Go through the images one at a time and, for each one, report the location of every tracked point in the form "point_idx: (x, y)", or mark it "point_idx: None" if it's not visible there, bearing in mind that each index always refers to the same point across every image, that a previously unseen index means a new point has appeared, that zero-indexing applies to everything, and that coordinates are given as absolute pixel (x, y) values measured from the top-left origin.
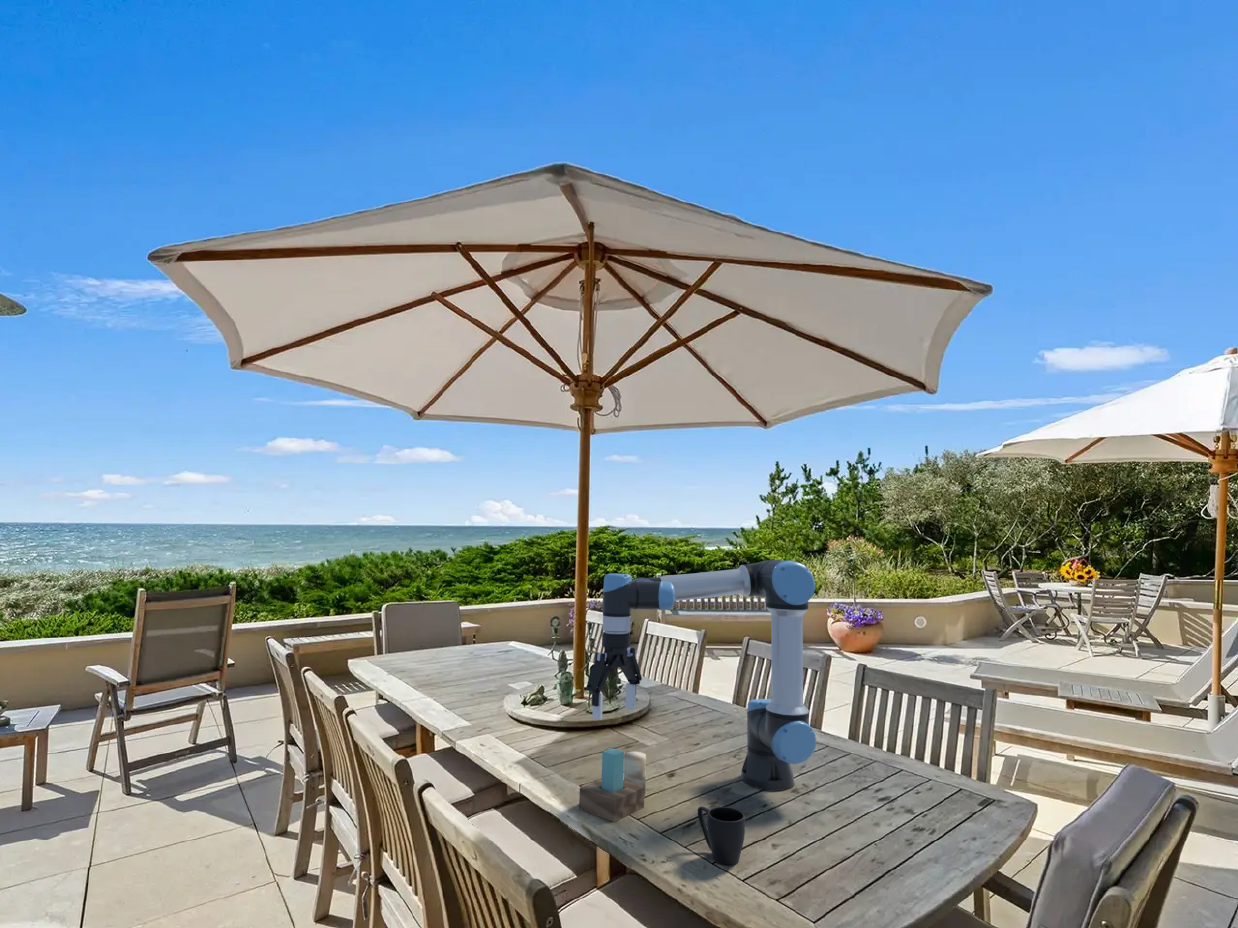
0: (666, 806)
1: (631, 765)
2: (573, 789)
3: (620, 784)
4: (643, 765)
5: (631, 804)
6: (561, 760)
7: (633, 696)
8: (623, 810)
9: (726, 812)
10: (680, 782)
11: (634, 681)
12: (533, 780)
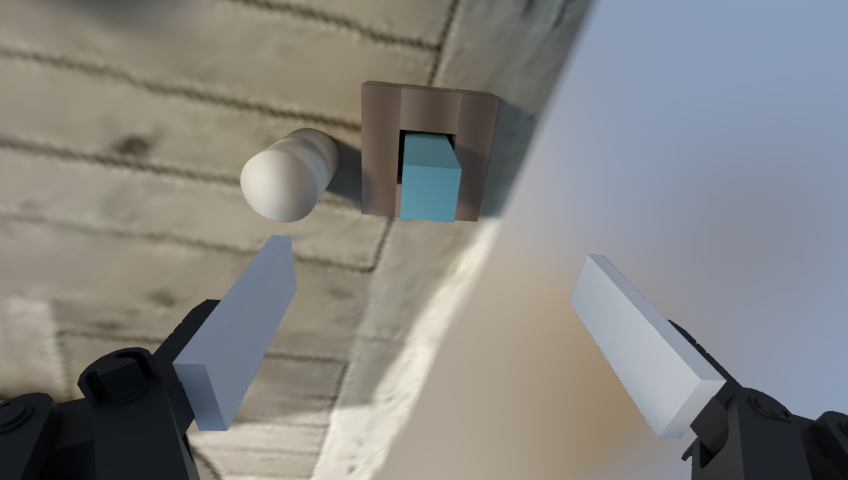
0: (317, 27)
1: (319, 172)
2: (397, 267)
3: (417, 139)
4: (284, 145)
5: (422, 87)
6: (298, 365)
7: (255, 290)
8: (456, 90)
9: None
10: (148, 93)
11: (164, 401)
12: (414, 340)
